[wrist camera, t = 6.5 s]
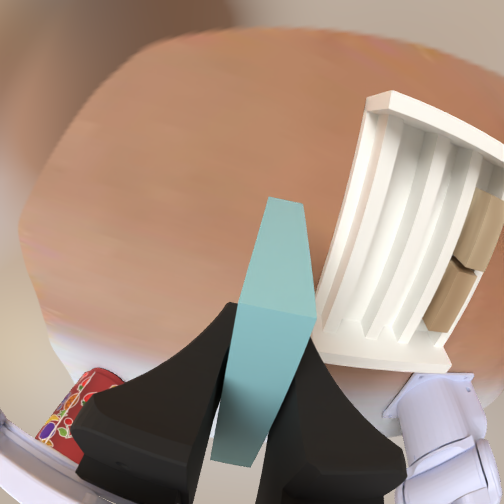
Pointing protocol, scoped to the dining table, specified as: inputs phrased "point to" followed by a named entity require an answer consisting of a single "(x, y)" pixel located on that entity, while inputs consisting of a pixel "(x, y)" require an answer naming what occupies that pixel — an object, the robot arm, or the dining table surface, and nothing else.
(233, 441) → the teal square slab
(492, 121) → the dining table surface
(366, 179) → the rack
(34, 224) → the dining table surface
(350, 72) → the dining table surface
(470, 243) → the offcut
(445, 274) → the offcut
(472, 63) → the dining table surface
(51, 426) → the smoothie
